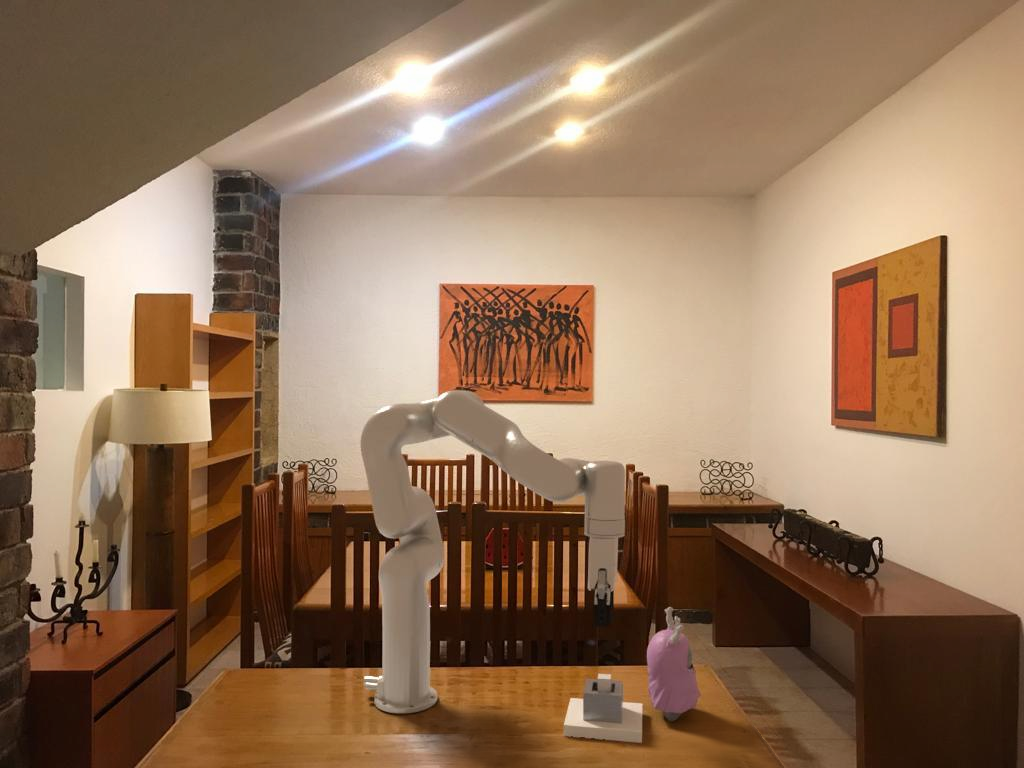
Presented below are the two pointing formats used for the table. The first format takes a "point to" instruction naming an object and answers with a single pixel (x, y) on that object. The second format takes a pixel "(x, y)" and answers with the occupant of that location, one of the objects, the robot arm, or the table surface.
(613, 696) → the collar
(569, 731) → the post plinth
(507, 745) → the table surface
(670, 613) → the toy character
